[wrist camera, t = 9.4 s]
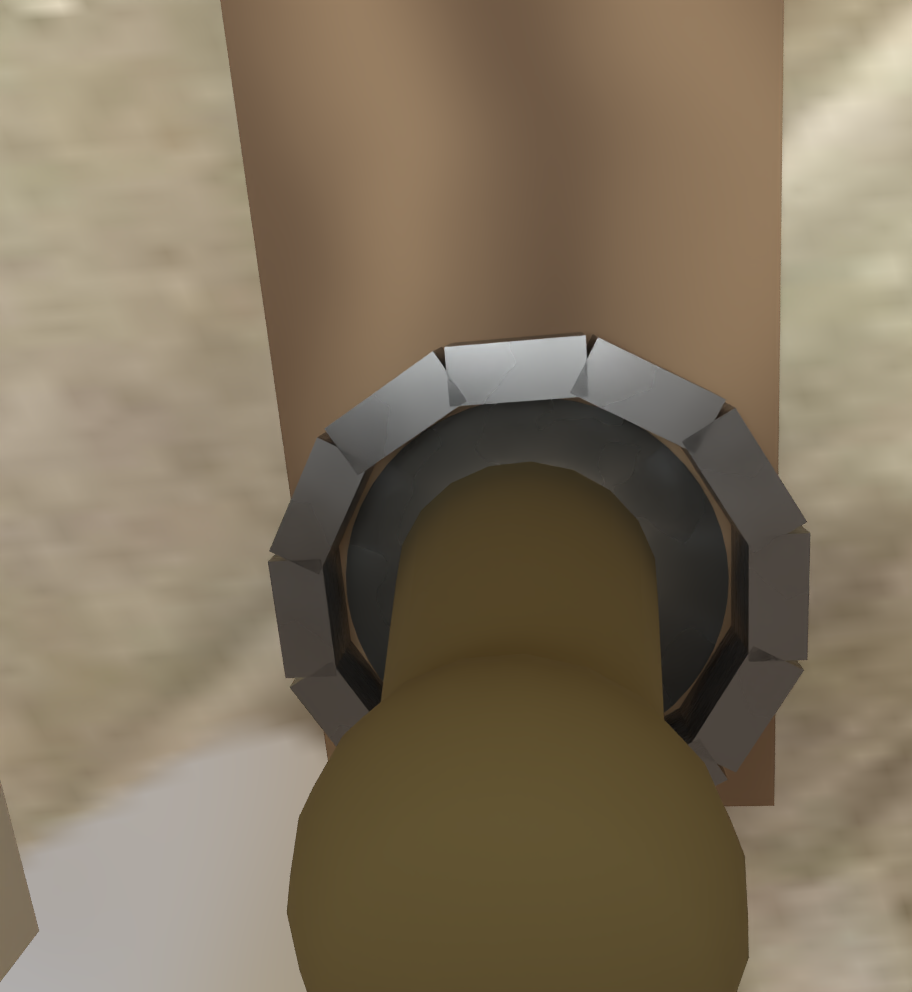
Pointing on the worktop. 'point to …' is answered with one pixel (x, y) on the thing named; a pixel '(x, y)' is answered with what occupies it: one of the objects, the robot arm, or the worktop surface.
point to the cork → (519, 772)
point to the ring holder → (596, 455)
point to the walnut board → (515, 201)
